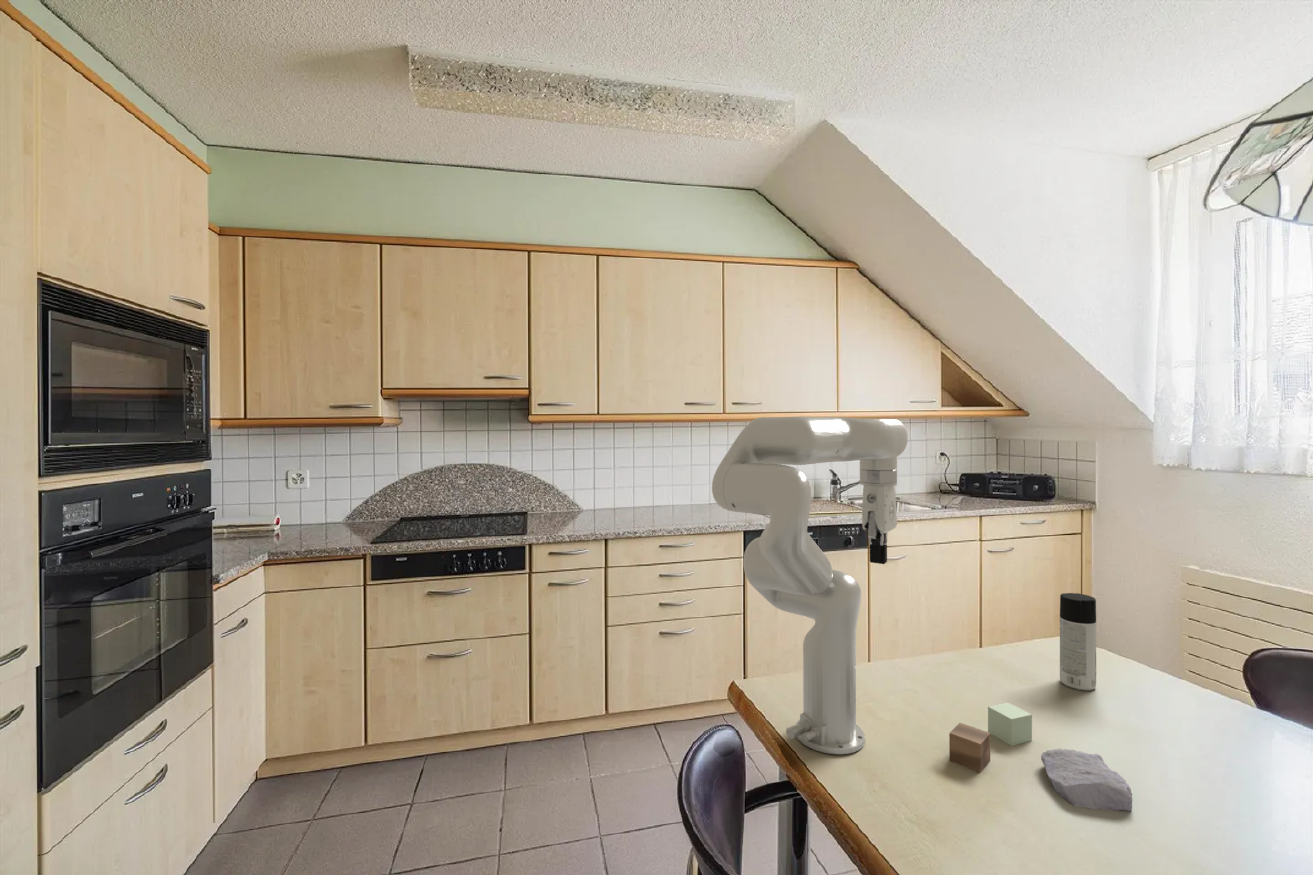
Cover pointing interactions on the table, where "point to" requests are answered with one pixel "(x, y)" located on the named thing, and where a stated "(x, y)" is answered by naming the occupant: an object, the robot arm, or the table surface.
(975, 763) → the walnut block
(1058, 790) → the stone block
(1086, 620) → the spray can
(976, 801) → the table surface
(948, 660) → the table surface
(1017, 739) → the sage block
